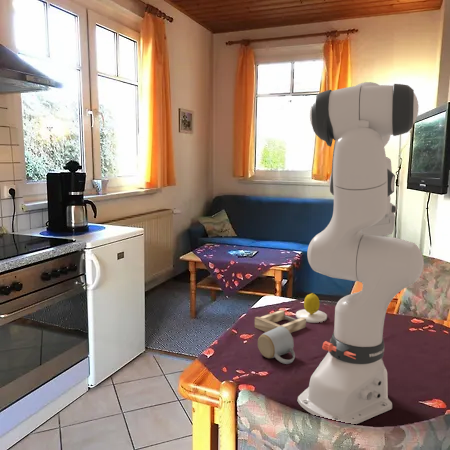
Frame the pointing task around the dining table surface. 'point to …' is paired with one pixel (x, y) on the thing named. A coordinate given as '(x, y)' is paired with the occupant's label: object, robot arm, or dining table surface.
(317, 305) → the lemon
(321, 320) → the saucer
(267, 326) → the wooden rectangular frame
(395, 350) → the dining table surface
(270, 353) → the ceramic mug
